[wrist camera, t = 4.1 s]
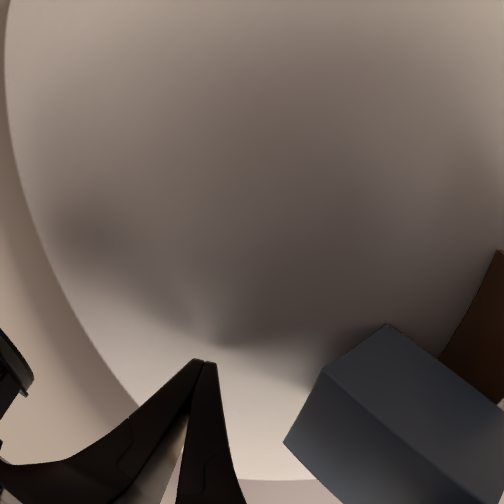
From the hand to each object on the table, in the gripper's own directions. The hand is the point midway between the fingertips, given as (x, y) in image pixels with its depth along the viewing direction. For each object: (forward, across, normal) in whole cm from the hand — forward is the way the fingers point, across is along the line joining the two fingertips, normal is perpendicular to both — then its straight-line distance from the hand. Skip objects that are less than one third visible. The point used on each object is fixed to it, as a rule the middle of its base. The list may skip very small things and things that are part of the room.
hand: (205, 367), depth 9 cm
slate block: (-3, -7, 0) cm, 7 cm away
